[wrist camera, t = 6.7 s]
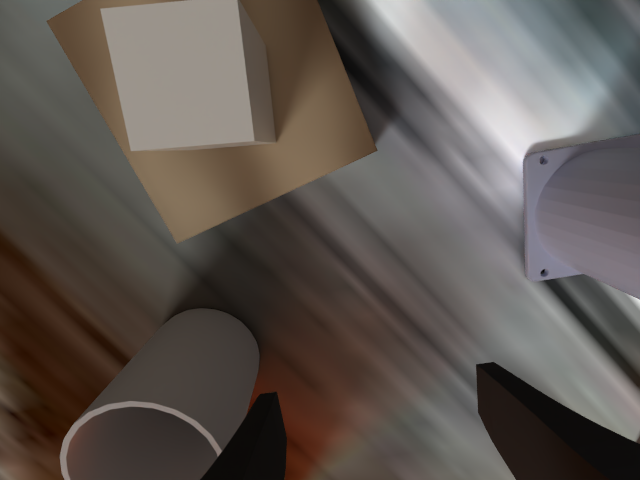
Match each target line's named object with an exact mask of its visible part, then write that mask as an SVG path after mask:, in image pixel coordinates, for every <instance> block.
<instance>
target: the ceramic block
mask: <svg viewBox="0 0 640 480" xmlns="http://www.w3.org/2000/svg"><path fill="white" fill-rule="evenodd" d="M100 10H101V15H102V20H103V24H104V29H105V33H106V38H107V43H108V47H109V52H110V57H111V61H112V66H113V70H114V75H115V80H116V84H117V89H118V94H119V98H120V103H121V108H122V112H123V117H124V121H125V126H126V131H127V135H128V140H129V145H130V149H131V151H176V150H200V149H212V148H224V147H237V146H249V145H261V144H274V143H276V136H275V127H274V117H273V108H272V99H271V89H270V80H269V71H268V61H267V52H266V45H265V43H264V42H263V40H262V38H261V36H260V35H259V33H258V31H257V30H256V28H255V26H254V24H253V23H252V21H251V19H250V18H249V16H248V14H247V12H246V11H245V9H244V7H243V5H242V4H241V2H240V0H185V1H175V2H165V3H154V4H144V5H134V6H123V7H113V8H103V9H100Z"/></svg>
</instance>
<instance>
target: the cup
mask: <svg viewBox="0 0 640 480" xmlns="http://www.w3.org/2000/svg"><path fill="white" fill-rule="evenodd" d="M259 357H260V354H259V350H258V345H257V342H256V340H255V338H254V337H253V335H252V333H251V331H250V330H249V329H248V328H247V327H246V326H245V325H244V324H243V323H242V322H241V321H240V320H238V319H236V318H235V317H233V316H232V315H230V314H228V313H225V312H222V311H219V310H216V309H206V308H198V309H191V310H186V311H184V312H182V313H179V314H177V315H175V316H173V317H172V318H171V319H170V320H169V321H167V322H166V323H165V324H164V325H163V326H162V327H160V328H159V329H158V331H157V332H156V333H155V334H154V335H153V336H152V337H151V338H150V339H149V341H148V342H147V343H146V344H145V345H144V346H143V347H142V348H141V349H140V351H139V352H138V353H137V354H136V355H135V356H134V357H133V358H132V359H131V361H130V362H129V363H128V364H127V365H126V366H125V367H124V368H123V370H122V371H121V372H120V373H119V374H118V375H117V376H116V377H115V378H114V380H113V381H112V382H111V383H110V384H109V385H108V386H107V387H106V388H105V390H104V391H103V392H102V393H101V394H100V395H99V396H98V397H97V398H96V400H95V401H94V402H93V403H92V404H91V405H90V406H89V407H88V408H87V410H86V411H85V412H84V413H83V414H82V415H81V416H80V417H79V419H78V420H77V421H76V422H75V423H74V424H73V426H72V427H71V429H70V430H69V432H68V433H67V435H66V437H65V438H64V440H63V445H62V449H61V453H60V462H61V470H62V475H63V477H64V479H65V480H200V479H201V478H202V477H203V475H204V474H205V473H206V472H207V470H208V469H209V468H210V467H211V465H212V464H213V463H214V461H215V460H216V459H217V457H218V456H219V455H220V453H221V452H222V451H223V449H224V448H225V447H226V445H227V444H228V442H229V441H230V440H231V438H232V437H233V435H234V434H235V432H236V431H237V429H238V428H239V426H240V425H241V423H242V422H243V420H244V418H245V417H246V414H247V411H248V407H249V403H250V400H251V396H252V393H253V389H254V385H255V382H256V378H257V374H258V369H259Z"/></svg>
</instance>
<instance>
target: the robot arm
mask: <svg viewBox="0 0 640 480" xmlns="http://www.w3.org/2000/svg"><path fill="white" fill-rule="evenodd" d="M542 156H543V157H544V162H543V163H542V164H540V162H539V160H540V158H541V157H542ZM523 189H524V238H525V275H526V277H527V278H528V279H529V280H531V281H541V280H548V279H554V278H560V277H566V276H573V275H579V274H586V275H588V276H590V277H592V278H595V279H597V280H599V281H601V282H603V283H605V284H608V285H610V286H612V287H614V288H616V289H618V290H621V291H623V292H625V293H627V294H629V295H631V296H633V297H636V298H638V299H640V134H636V135H630V136H624V137H618V138H613V139H607V140H601V141H596V142H590V143H584V144H579V145H573V146H567V147H562V148H556V149H550V150H544V151H539V152H533V153H530V154H528V155H526V156H525V158H524V160H523ZM543 269H545V271H544V273H543V274H540V273H541V271H542V270H543ZM476 371H477V395H478V413H479V415H480V417H481V419H482V421H483V424H484V426H485V428H486V430H487V432H488V434H489V436H490V438H491V440H492V442H493V443H494V445H495V447H496V448H497V450H498V452H499V453H500V455H501V456H502V458H503V460H504V461H505V463H506V464H507V466H508V468H509V469H510V471H511V472H512V474H513V475H514V477H515V479H516V480H640V444H638V443H636V442H634V441H632V440H630V439H627V438H625V437H623V436H621V435H619V434H617V433H615V432H613V431H611V430H609V429H607V428H605V427H602V426H600V425H598V424H597V423H595V422H593V421H591V420H589V419H587V418H585V417H583V416H581V415H580V414H578V413H576V412H574V411H572V410H571V409H569V408H567V407H565V406H564V405H562V404H560V403H558V402H557V401H555V400H553V399H552V398H550V397H548V396H547V395H545V394H543V393H542V392H540V391H538V390H537V389H535V388H534V387H532V386H531V385H529V384H527V383H526V382H524V381H523V380H521V379H520V378H518V377H516V376H515V375H513V374H512V373H510V372H509V371H507V370H506V369H504V368H502V367H501V366H499V365H498V364H496V363H494V362H490V363H483V364H476ZM286 446H287V437H286V432H285V428H284V423H283V418H282V414H281V409H280V405H279V400H278V396H277V392H272V393H265V394H260V395H259V396H258V398H257V399H256V401H255V403H254V404H253V406H252V407H251V409H250V411H249V412H248V414H247V415H246V417H245V418H244V420H243V422H242V423H241V425H240V426H239V428H238V429H237V431H236V432H235V434H234V435H233V437H232V438H231V440H230V441H229V442H228V444H227V445H226V447H225V448H224V449H223V451H222V452H221V453H220V455H219V456H218V457H217V459H216V460H215V461H214V463H213V464H212V465H211V467H210V468H209V469H208V470H207V472H206V473H205V474H204V475H203V477H202V478H201V479H200V480H284V477H285V469H286Z"/></svg>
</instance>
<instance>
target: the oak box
mask: <svg viewBox="0 0 640 480" xmlns="http://www.w3.org/2000/svg"><path fill="white" fill-rule="evenodd" d="M175 1H185V0H82V1H81V2H79V3H77V4H75V5H74V6H72V7H70V8H68V9H67V10H65V11H63V12H61V13H60V14H58V15H56V16H54V17H53V18H51V19H49V20H47V23H48V25H49V26H50V28H51V30H52V31H53V33H54V35H55V37H56V38H57V40H58V42H59V43H60V45H61V47H62V48H63V50H64V52H65V54H66V55H67V57H68V59H69V60H70V62H71V64H72V65H73V67H74V69H75V71H76V72H77V74H78V76H79V77H80V79H81V81H82V82H83V84H84V86H85V88H86V89H87V91H88V93H89V94H90V96H91V98H92V99H93V101H94V103H95V105H96V106H97V108H98V110H99V111H100V113H101V115H102V116H103V118H104V120H105V122H106V123H107V125H108V127H109V128H110V130H111V132H112V133H113V135H114V137H115V139H116V140H117V142H118V144H119V145H120V147H121V149H122V150H123V152H124V154H125V156H126V157H127V159H128V161H129V162H130V164H131V166H132V167H133V169H134V171H135V173H136V174H137V176H138V178H139V179H140V181H141V183H142V184H143V186H144V188H145V190H146V191H147V193H148V195H149V196H150V198H151V200H152V201H153V203H154V205H155V207H156V208H157V210H158V212H159V213H160V215H161V217H162V218H163V220H164V222H165V224H166V225H167V227H168V229H169V230H170V232H171V234H172V235H173V237H174V239H175V241H176V242H177V243H180V242H182V241H184V240H186V239H188V238H190V237H193V236H195V235H197V234H199V233H201V232H203V231H205V230H208V229H210V228H212V227H214V226H216V225H218V224H221V223H223V222H225V221H227V220H229V219H231V218H233V217H236V216H238V215H240V214H242V213H244V212H246V211H249V210H251V209H253V208H255V207H257V206H259V205H261V204H264V203H266V202H268V201H270V200H272V199H274V198H277V197H279V196H281V195H283V194H285V193H287V192H289V191H292V190H294V189H296V188H298V187H300V186H302V185H305V184H307V183H309V182H311V181H313V180H315V179H317V178H320V177H322V176H324V175H326V174H328V173H330V172H333V171H335V170H337V169H339V168H341V167H343V166H345V165H348V164H350V163H352V162H354V161H356V160H358V159H361V158H363V157H365V156H367V155H369V154H371V153H373V152H376V151H377V148H376V146H375V143H374V141H373V138H372V136H371V133H370V131H369V128H368V126H367V123H366V121H365V118H364V116H363V113H362V111H361V108H360V106H359V103H358V101H357V98H356V96H355V93H354V91H353V88H352V86H351V83H350V81H349V78H348V76H347V73H346V71H345V68H344V66H343V63H342V61H341V58H340V56H339V53H338V51H337V48H336V46H335V43H334V41H333V38H332V36H331V33H330V31H329V28H328V26H327V23H326V21H325V18H324V16H323V13H322V11H321V8H320V6H319V3H318V1H317V0H240V2H241V4H242V5H243V7H244V9H245V11H246V12H247V14H248V16H249V18H250V19H251V21H252V23H253V24H254V26H255V28H256V30H257V31H258V33H259V35H260V36H261V38H262V40H263V42H264V43H265V45H266V52H267V61H268V71H269V80H270V89H271V99H272V108H273V117H274V127H275V136H276V143H274V144H261V145H249V146H237V147H224V148H212V149H200V150H176V151H131V149H130V145H129V140H128V135H127V131H126V126H125V121H124V117H123V112H122V108H121V103H120V98H119V94H118V89H117V84H116V80H115V75H114V70H113V66H112V61H111V57H110V52H109V47H108V43H107V38H106V33H105V29H104V24H103V20H102V15H101V10H100V9H103V8H113V7H123V6H134V5H144V4H154V3H165V2H175Z"/></svg>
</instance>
